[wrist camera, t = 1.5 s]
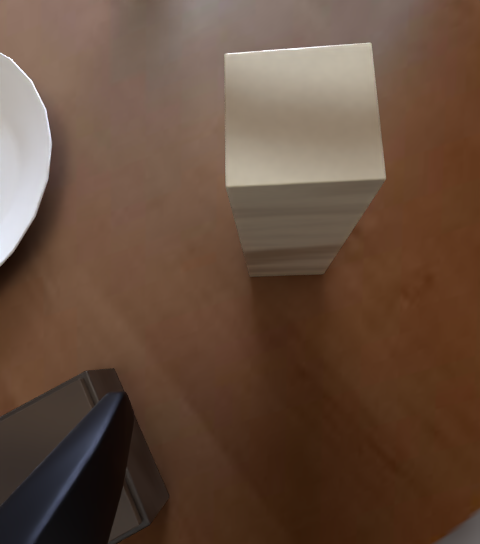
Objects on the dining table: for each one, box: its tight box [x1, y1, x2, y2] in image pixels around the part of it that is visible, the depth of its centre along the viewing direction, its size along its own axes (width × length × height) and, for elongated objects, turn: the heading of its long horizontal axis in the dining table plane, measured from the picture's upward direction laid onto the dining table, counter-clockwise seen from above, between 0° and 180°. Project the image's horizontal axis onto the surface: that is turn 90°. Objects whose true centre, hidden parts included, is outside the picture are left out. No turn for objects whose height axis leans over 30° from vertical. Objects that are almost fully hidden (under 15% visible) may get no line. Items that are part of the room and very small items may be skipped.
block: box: [224, 43, 386, 277], centre depth 18 cm, size 5×5×13 cm
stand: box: [0, 368, 169, 544], centre depth 20 cm, size 8×8×4 cm
